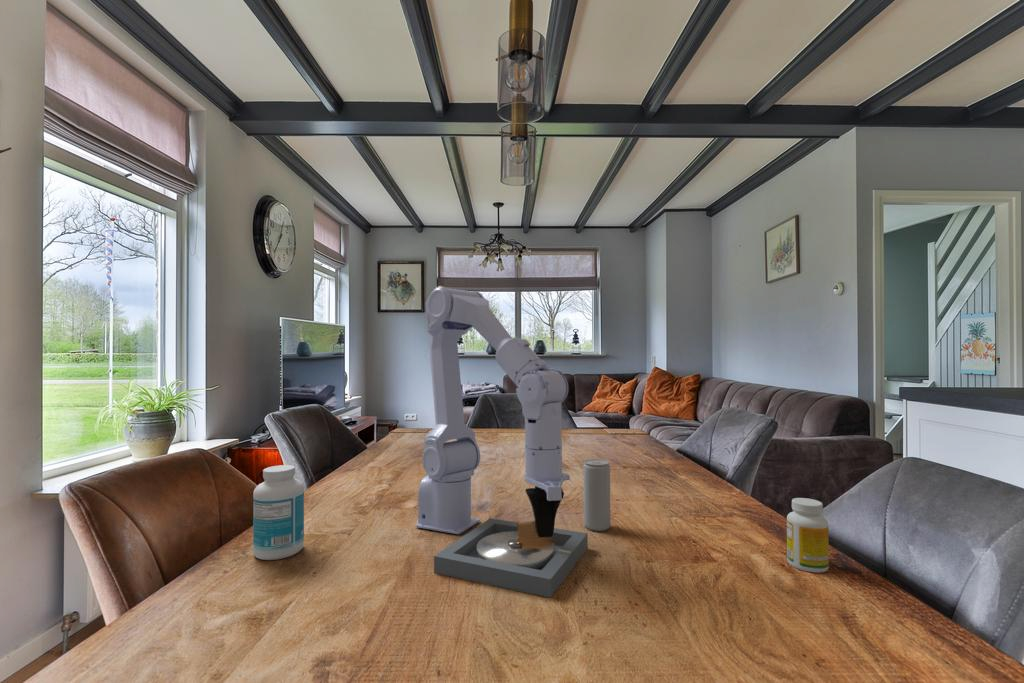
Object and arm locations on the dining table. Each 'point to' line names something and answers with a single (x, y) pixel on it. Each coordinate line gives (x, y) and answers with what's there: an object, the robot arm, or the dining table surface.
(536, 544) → the dial
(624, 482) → the dining table surface
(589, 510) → the beverage can
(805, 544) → the supplement bottle
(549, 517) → the robot arm
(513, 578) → the slate tray
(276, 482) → the pill bottle
